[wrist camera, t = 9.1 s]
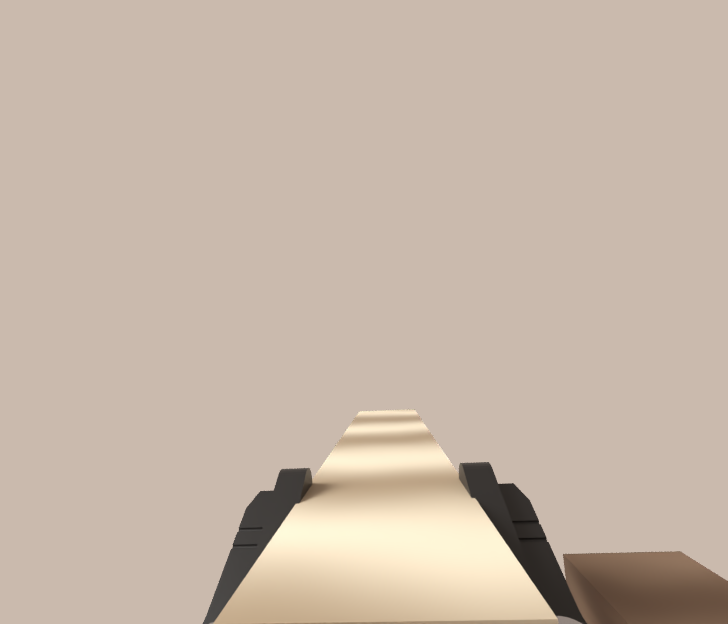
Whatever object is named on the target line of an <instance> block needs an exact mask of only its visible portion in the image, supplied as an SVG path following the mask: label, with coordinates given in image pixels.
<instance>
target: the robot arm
mask: <svg viewBox="0 0 728 624" xmlns="http://www.w3.org/2000/svg"><path fill="white" fill-rule="evenodd" d="M459 480H460V481H461V483H462V484H463V486H464V487H465V489H466V490H467V492H468V493H469V495H470V496H471V498H475V499H476V500H477V502H478V503H479V505H480V506H481V507H482V509H483V510H484V512H485V513H486V515H487V516H488V518H489V519H490V521H491V522H492V524H493V525H494V526H495V528H496V529H497V531H498V532H499V534H500V535H501V537H502V538H503V540H504V541H505V543H506V544H507V545H508V547H509V548H510V550H511V551H512V553H513V554H514V556H515V557H516V559H517V560H518V562H519V563H520V564H521V566H522V567H523V569H524V570H525V572H526V573H527V575H528V576H529V578H530V579H531V581H532V582H533V583H534V585H535V586H536V588H537V589H538V591H539V592H540V594H541V595H542V597H543V598H544V600H545V601H546V603H547V604H548V605H549V607H550V608H551V610H552V611H553V613H554V614H555V616H556V617H557V619H558V624H587V623H586V621H585V620H584V618H583V617H582V615H581V613H580V611H579V609H578V607H577V604H576V602H575V600H574V598H573V596H572V593H571V591H570V589H569V587H568V584H567V582H566V580H565V578H564V576H563V573H562V571H561V569H560V567H559V564H558V562H557V560H556V558H555V556H554V553H553V551H552V549H551V547H550V544H549V542H547V540H546V536H545V533H544V531H543V529H542V527H541V525H540V524H539V520H538V518H537V516H536V513H535V511H534V509H533V507H532V505H531V502H530V500H529V499H528V498H527V497H526V496H525V495H524V494H523V493H522V492H521V491H520V490H519V489H518V488H517V487H516V486H515V485H514V484H513V483H512V484H498V483H497V480H496V477H495V475H494V472H493V469H492V467H491V465H490V464H489V462H481V463H460V465H459ZM312 484H313V482H312V476H311V471H310V469H309V468H301V469H282V470H281V471H280V473H279V476H278V479H277V482H276V485H275V489H274V491H260V492H259V494H258V495H257V496H256V497H255V498H254V500H253V501H252V502H251V503H250V504H249V506H248V507H247V508H246V510H245V513H244V516H243V518H242V521H241V524H240V527H239V532H237V535H236V537H235V540H234V543H233V548H232V549H231V551H230V554H229V556H228V559H227V562H226V564H225V567H224V570H223V572H222V575H221V578H220V581H219V583H218V586H217V589H216V591H215V594H214V597H213V599H212V602H211V605H210V607H209V610H208V613H207V616H206V618H205V620H204V622H203V624H213V623H214V622H215V620H216V619H217V617H218V616H219V614H220V613H221V612H222V610H223V609H224V607H225V606H226V604H227V603H228V601H229V600H230V598H231V597H232V596H233V594H234V593H235V591H236V590H237V588H238V587H239V585H240V584H241V582H242V581H243V580H244V578H245V577H246V575H247V574H248V572H249V571H250V569H251V568H252V567H253V565H254V564H255V562H256V561H257V559H258V558H259V556H260V555H261V553H262V552H263V551H264V549H265V548H266V546H267V545H268V543H269V542H270V540H271V539H272V537H273V536H274V535H275V533H276V532H277V530H278V529H279V527H280V526H281V524H282V523H283V522H284V520H285V519H286V517H287V516H288V514H289V513H290V511H291V510H292V508H293V507H294V506H295V504H299V503H300V502H301V500H302V499H303V497H304V496H305V494H306V493H307V491H308V490H309V488H310V487H311V485H312Z"/></svg>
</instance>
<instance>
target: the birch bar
mask: <svg viewBox="0 0 728 624" xmlns="http://www.w3.org/2000/svg"><path fill="white" fill-rule="evenodd" d="M312 482H313V484H312V485H311V487H310V488H309V490H308V491H307V493H306V494H305V496H304V497H303V499H302V500H301V502H300V503H299V504H295V506H294V507H293V508H292V510H291V511H290V513H289V514H288V516H287V517H286V519H285V520H284V522H283V523H282V524H281V526H280V527H279V529H278V530H277V532H276V533H275V535H274V536H273V537H272V539H271V540H270V542H269V543H268V545H267V546H266V548H265V549H264V551H263V552H262V553H261V555H260V556H259V558H258V559H257V561H256V562H255V564H254V565H253V567H252V568H251V569H250V571H249V572H248V574H247V575H246V577H245V578H244V580H243V581H242V582H241V584H240V585H239V587H238V588H237V590H236V591H235V593H234V594H233V596H232V597H231V598H230V600H229V601H228V603H227V604H226V606H225V607H224V609H223V610H222V612H221V613H220V614H219V616H218V617H217V619H216V620H215V622H214V623H213V624H558V619H557V617H556V616H555V614H554V613H553V611H552V610H551V608H550V607H549V605H548V604H547V603H546V601H545V600H544V598H543V597H542V595H541V594H540V592H539V591H538V589H537V588H536V586H535V585H534V583H533V582H532V581H531V579H530V578H529V576H528V575H527V573H526V572H525V570H524V569H523V567H522V566H521V564H520V563H519V562H518V560H517V559H516V557H515V556H514V554H513V553H512V551H511V550H510V548H509V547H508V545H507V544H506V543H505V541H504V540H503V538H502V537H501V535H500V534H499V532H498V531H497V529H496V528H495V526H494V525H493V524H492V522H491V521H490V519H489V518H488V516H487V515H486V513H485V512H484V510H483V509H482V507H481V506H480V505H479V503H478V502H477V500H476V499H475V498H471V496H470V495H469V493H468V492H467V490H466V489H465V487H464V486H463V484H462V483H461V481H460V480H459V474H458V472H457V471H456V469H455V468H454V467H453V465H452V464H451V462H450V461H449V459H448V458H447V456H446V455H445V453H444V452H443V450H442V449H441V448H440V446H439V445H438V443H437V442H436V440H435V439H434V437H433V436H432V434H431V433H430V432H429V430H428V428H427V427H426V426H425V424H424V423H423V421H422V420H421V418H420V417H419V415H418V414H417V413H416V411H415V409H409V410H408V409H407V410H383V411H361V412H359V413H358V414H357V416H356V417H355V418H354V420H353V421H352V423H351V424H350V426H349V427H348V429H347V430H346V432H345V433H344V434H343V436H342V437H341V439H340V440H339V442H338V443H337V445H336V446H335V447H334V449H333V450H332V452H331V454H330V455H329V456H328V458H327V459H326V461H325V462H324V463H323V465H322V467H321V468H320V469H319V471H318V472H317V474H316V475H315V477H314V478H313V479H312Z"/></svg>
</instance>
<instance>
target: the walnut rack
mask: <svg viewBox="0 0 728 624" xmlns="http://www.w3.org/2000/svg"><path fill="white" fill-rule="evenodd" d="M563 558H564V566H565V575H566V582H567V584H568V587H569V589H570V591H571V593H572V596H573V598H574V600H575V602H576V604H577V607H578V609H579V611H580V613H581V615H582V617H583V618H584V620H585V621H586V623H587V624H728V581H726V580H725V579H723V578H722V577H720V576H718V575H717V574H715V573H713V572H712V571H710V570H709V569H707V568H706V567H704V566H703V565H701V564H699V563H698V562H696V561H695V560H693V559H691V558H690V557H688V556H686V555H685V554H683V553H682V552H680V551H677V552H637V553H636V552H634V553H596V554H595V553H590V554H563Z"/></svg>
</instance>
